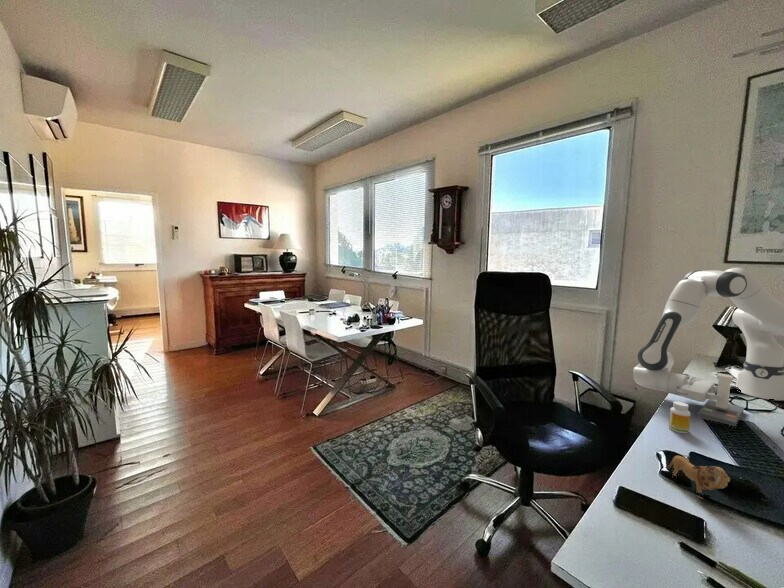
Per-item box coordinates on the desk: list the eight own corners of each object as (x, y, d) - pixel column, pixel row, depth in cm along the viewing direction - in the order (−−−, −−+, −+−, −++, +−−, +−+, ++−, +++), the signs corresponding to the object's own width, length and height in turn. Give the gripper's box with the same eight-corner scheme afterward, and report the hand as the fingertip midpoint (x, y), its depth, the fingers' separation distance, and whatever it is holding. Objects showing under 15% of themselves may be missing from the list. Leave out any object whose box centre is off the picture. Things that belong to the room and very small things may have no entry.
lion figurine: (732, 505, 81) (736, 470, 80) (717, 509, 79) (720, 474, 78) (667, 468, 95) (670, 439, 94) (654, 472, 93) (656, 442, 93)
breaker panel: (708, 403, 138) (709, 398, 138) (743, 412, 130) (743, 407, 130) (697, 417, 126) (698, 411, 126) (735, 427, 118) (735, 422, 118)
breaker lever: (715, 405, 131) (718, 373, 129) (729, 409, 127) (733, 376, 126) (713, 408, 128) (717, 375, 127) (728, 411, 125) (731, 378, 124)
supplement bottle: (692, 434, 114) (695, 407, 113) (674, 433, 115) (677, 406, 114) (682, 426, 119) (684, 401, 118) (665, 425, 120) (667, 399, 119)
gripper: (673, 383, 131) (722, 394, 120) (686, 372, 143) (731, 381, 132) (672, 398, 132) (720, 411, 121) (684, 386, 144) (729, 397, 133)
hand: (726, 395), depth 127 cm, fingers open, 8 cm apart
